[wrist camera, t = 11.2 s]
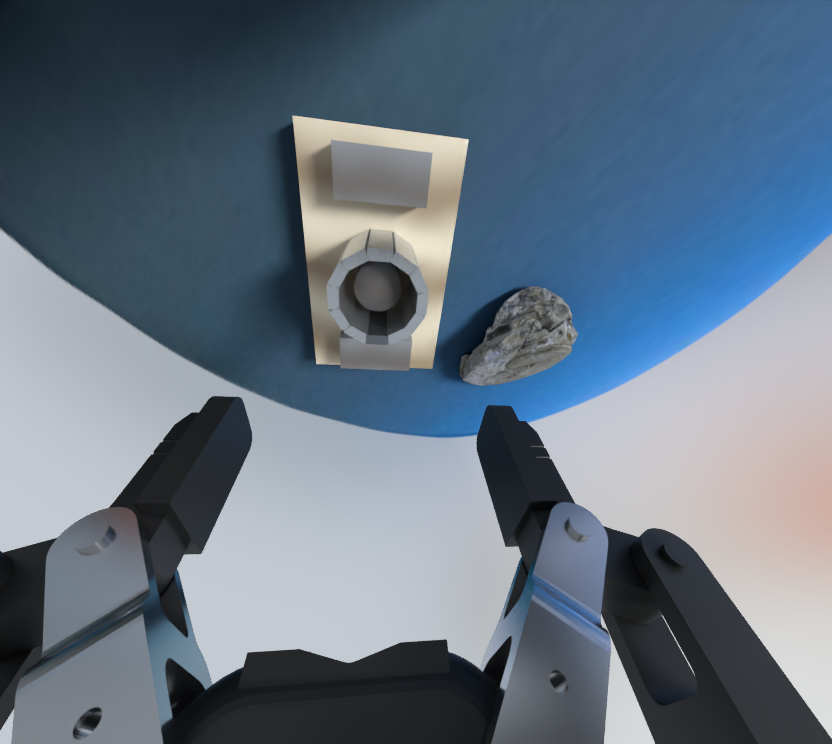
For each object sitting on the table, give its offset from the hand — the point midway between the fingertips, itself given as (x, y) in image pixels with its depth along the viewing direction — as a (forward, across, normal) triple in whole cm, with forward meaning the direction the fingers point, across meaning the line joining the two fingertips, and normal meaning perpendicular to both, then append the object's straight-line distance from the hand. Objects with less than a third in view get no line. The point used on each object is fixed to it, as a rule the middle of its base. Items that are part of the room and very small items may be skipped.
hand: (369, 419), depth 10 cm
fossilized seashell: (+19, -13, +6) cm, 24 cm away
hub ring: (+17, 0, 0) cm, 17 cm away
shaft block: (+19, 0, 0) cm, 19 cm away
